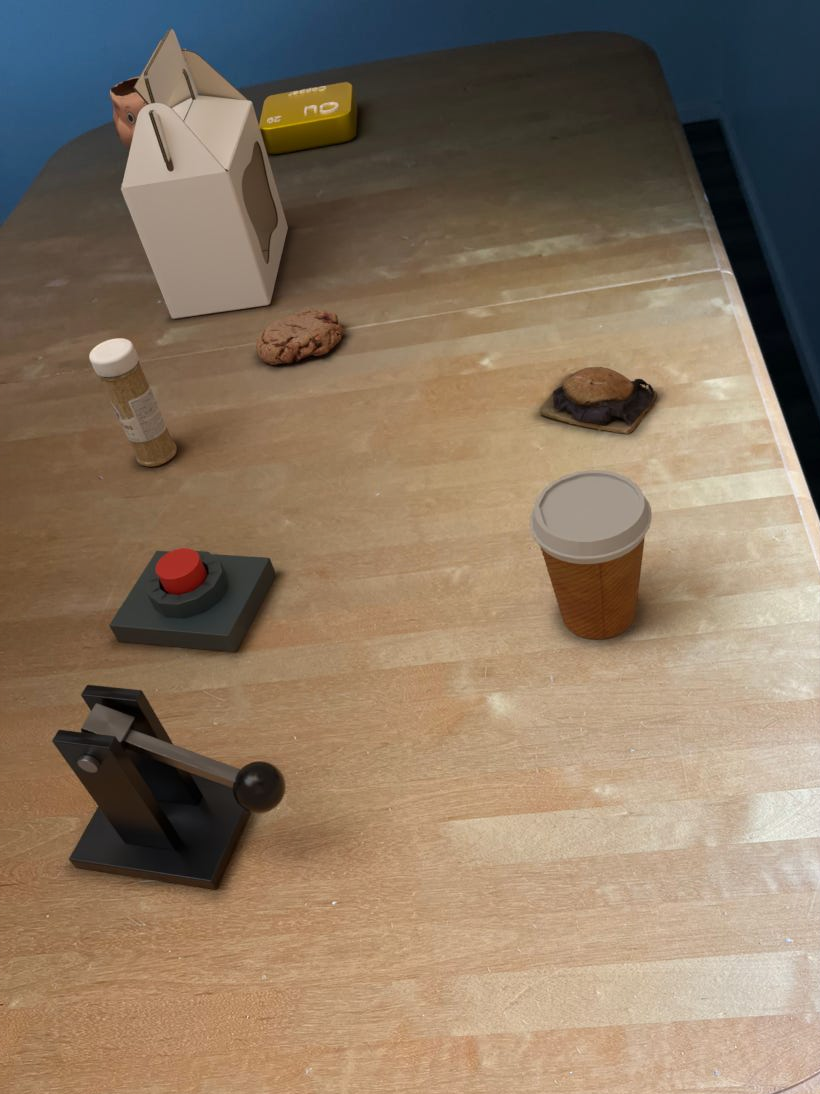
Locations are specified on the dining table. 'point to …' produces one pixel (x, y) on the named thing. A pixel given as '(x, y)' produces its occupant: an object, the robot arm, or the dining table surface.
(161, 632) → the control block
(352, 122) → the element tile
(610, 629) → the disposable coffee cup
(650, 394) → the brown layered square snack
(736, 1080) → the dining table surface
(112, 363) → the sprinkles bottle
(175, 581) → the button
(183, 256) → the gable box
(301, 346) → the cookie
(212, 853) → the lever stand
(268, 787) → the lever handle
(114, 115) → the decorative planter
